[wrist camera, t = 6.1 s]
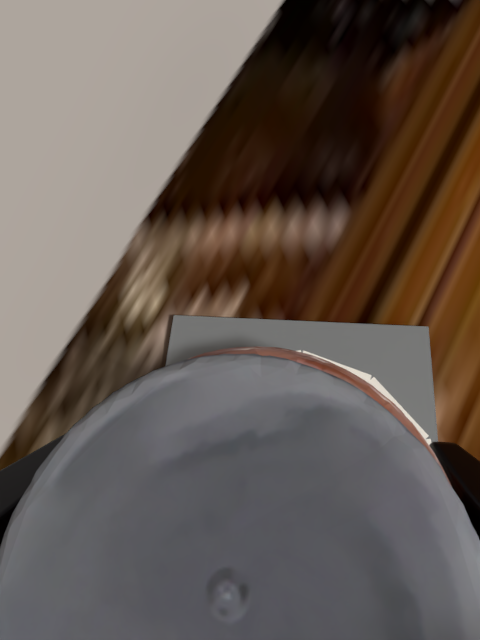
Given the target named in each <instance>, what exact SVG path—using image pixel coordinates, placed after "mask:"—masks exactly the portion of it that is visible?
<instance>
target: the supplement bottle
mask: <svg viewBox="0 0 480 640" xmlns="http://www.w3.org/2000/svg"><path fill="white" fill-rule="evenodd" d="M0 640H480V540H479V537H478V535H477V533H476V531H475V529H474V527H473V525H472V524H471V521H470V519H469V516H468V514H467V512H466V509H465V507H464V505H463V503H462V502H461V500H460V499H459V497H458V496H457V494H456V493H455V491H454V490H453V488H452V486H451V484H450V481H449V479H448V477H447V475H446V473H445V471H444V469H443V467H442V466H441V464H440V462H439V460H438V459H437V457H436V455H435V453H434V452H433V450H432V449H431V448H430V446H429V445H428V443H427V442H426V440H425V439H424V437H423V436H422V435H421V434H420V432H419V431H418V430H417V428H416V427H415V426H414V425H413V423H412V422H411V421H410V420H409V419H408V418H407V417H406V416H405V415H404V413H403V412H402V411H401V410H400V409H399V408H398V407H397V406H396V405H395V404H394V403H393V402H392V401H391V400H389V399H388V398H387V397H385V396H384V395H383V394H382V393H381V392H379V391H378V390H377V389H376V388H375V387H373V386H372V385H371V384H369V383H368V382H366V381H365V380H363V379H362V378H360V377H358V376H357V375H355V374H353V373H351V372H350V371H348V370H346V369H344V368H342V367H340V366H337V365H335V364H333V363H331V362H329V361H326V360H324V359H321V358H318V357H316V356H313V355H310V354H306V353H302V352H298V351H293V350H289V349H283V348H277V347H260V346H256V347H236V348H228V349H219V350H216V351H212V352H207V353H203V354H200V355H197V356H195V357H192V358H189V359H186V360H183V361H180V362H177V363H174V364H171V365H168V366H165V367H162V368H159V369H157V370H154V371H152V372H150V373H149V374H147V375H144V376H142V377H140V378H138V379H136V380H134V381H132V382H130V383H128V384H126V385H125V386H123V387H122V388H120V389H119V390H117V391H115V392H113V393H112V394H111V395H109V396H108V397H107V398H106V399H105V400H103V401H102V402H101V403H99V404H98V405H96V406H94V407H93V408H92V409H91V410H90V411H89V412H88V413H87V414H86V415H85V416H84V417H83V418H82V419H81V420H79V421H78V422H77V423H76V424H74V425H73V426H72V428H71V429H70V430H69V431H68V432H67V433H66V434H65V435H64V436H63V438H62V439H61V441H60V442H59V443H58V444H57V445H56V446H55V447H54V448H53V450H52V451H51V452H50V454H49V455H48V456H47V458H46V459H45V460H44V462H43V463H42V464H41V466H40V467H39V468H38V470H37V471H36V473H35V475H34V477H33V479H32V481H31V483H30V485H29V486H28V488H27V489H26V491H25V493H24V494H23V496H22V498H21V499H20V501H19V503H18V505H17V506H16V508H15V510H14V511H13V513H12V516H11V518H10V521H9V523H8V526H7V528H6V531H5V534H4V537H3V540H2V543H1V546H0Z"/></svg>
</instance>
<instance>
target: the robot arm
mask: <svg viewBox="0 0 480 640" xmlns="http://www.w3.org/2000/svg"><path fill="white" fill-rule="evenodd" d="M64 435H65V434H64ZM64 435H63V436H64ZM63 436H61V437H59V438H57V439H56V440H54V441H52V442H50V443H48V444H47V445H45V446H43V447H41V448H40V449H38V450H36V451H34V452H33V453H31V454H29V455H27V456H26V457H24V458H22V459H20V460H18V461H17V462H15V463H13V464H11V465H10V466H8V467H6V468H4V469H3V470H1V471H0V546H1V543H2V540H3V537H4V534H5V531H6V528H7V526H8V523H9V521H10V518H11V516H12V513H13V511H14V510H15V508H16V506H17V505H18V503H19V501H20V499H21V498H22V496H23V494H24V493H25V491H26V489H27V488H28V486H29V485H30V483H31V481H32V479H33V477H34V475H35V473H36V471H37V470H38V468H39V467H40V466H41V464H42V463H43V462H44V460H45V459H46V458H47V456H48V455H49V454H50V452H51V451H52V450H53V448H54V447H55V446H56V445H57V444H58V443H59V442H60V441H61V439H62V438H63ZM429 446H430V448H431V449H432V450H433V452H434V453H435V455H436V457H437V459H438V460H439V462H440V464H441V466H442V467H443V469H444V471H445V473H446V475H447V477H448V479H449V481H450V484H451V486H452V488H453V490H454V491H455V493H456V494H457V496H458V497H459V499H460V500H461V502H462V503H463V505H464V507H465V509H466V512H467V514H468V516H469V519H470V521H471V524H472V525H473V527H474V529H475V531H476V533H477V535H478V537H479V540H480V461H479V460H477V459H476V458H475V457H473V456H472V455H471V454H469V453H468V452H467V451H465V450H464V449H463V448H461V447H460V446H459V445H457V444H455V443H450V442H432V443H430V445H429Z"/></svg>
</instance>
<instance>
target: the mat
mask: <svg viewBox="0 0 480 640" xmlns="http://www.w3.org/2000/svg"><path fill="white" fill-rule="evenodd" d="M256 346H260V347H277V348H283V349H289V350H293V351H298V350H301V352H302V353H303V350H304V351H307V352H309V353H312V354H315V355H318V356H320V357H323V358H326V359H328V360H331V361H334V362H337V363H339V364H342V365H345V366H348V367H350V368H353V369H356V370H359V371H361V372H364V373H367V374H370V375H372V376H371V379H372V378H373V377H375V378H376V379H377V381H378V382H379V383H380V384H381V385H382V386H383V387H384V388H385V389H386V390H387V391H388V392H389V393H390V395H391V396H392V397H393V398H394V399H395V400H396V401H397V402H398V403H399V404H400V405H401V406H402V407H403V409H404V410H405V411H406V412H407V413H408V414H409V415H410V416H411V417H412V418H413V419H414V420H415V422H416V423H417V424H418V425H419V426H420V427H421V428H422V429H423V430H424V431H425V432H426V433H427V434H428V437H427V438H426V439H431V442H438V436H437V424H436V412H435V400H434V388H433V376H432V364H431V352H430V340H429V328H428V327H423V326H401V325H379V324H357V323H335V322H313V321H291V320H269V319H247V318H225V317H202V316H180V315H174V316H173V322H172V328H171V335H170V341H169V347H168V353H167V359H166V365H165V366H168V365H171V364H174V363H177V362H180V361H183V360H186V359H189V358H192V357H195V356H197V355H200V354H203V353H207V352H212V351H216V350H219V349H228V348H236V347H256ZM371 379H370V380H371Z"/></svg>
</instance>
